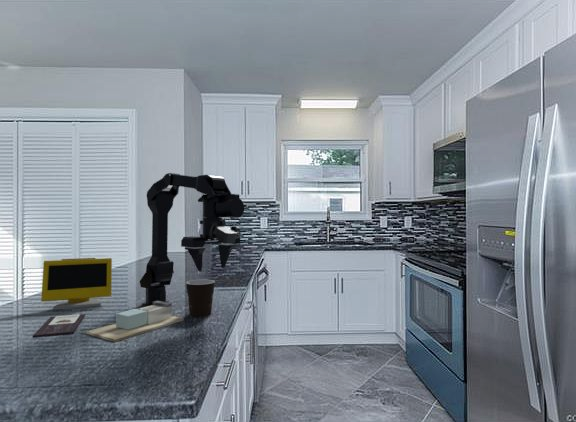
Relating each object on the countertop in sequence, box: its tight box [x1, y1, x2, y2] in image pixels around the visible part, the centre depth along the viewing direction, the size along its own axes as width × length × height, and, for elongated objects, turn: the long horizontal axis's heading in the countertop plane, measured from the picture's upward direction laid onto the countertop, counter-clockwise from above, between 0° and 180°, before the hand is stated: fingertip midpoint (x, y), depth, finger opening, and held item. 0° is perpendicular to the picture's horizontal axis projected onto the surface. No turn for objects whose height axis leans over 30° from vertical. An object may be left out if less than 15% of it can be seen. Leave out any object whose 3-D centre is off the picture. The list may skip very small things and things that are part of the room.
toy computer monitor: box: [40, 257, 113, 311], centre depth 127 cm, size 20×8×16 cm, turn 114°
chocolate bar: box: [32, 313, 86, 338], centre depth 104 cm, size 9×1×18 cm
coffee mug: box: [185, 279, 216, 318], centre depth 118 cm, size 12×9×10 cm
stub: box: [115, 308, 147, 330], centre depth 102 cm, size 5×6×4 cm
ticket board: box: [85, 301, 185, 343], centre depth 104 cm, size 12×22×5 cm, turn 149°
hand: (211, 269), depth 113 cm, fingers open, 9 cm apart
